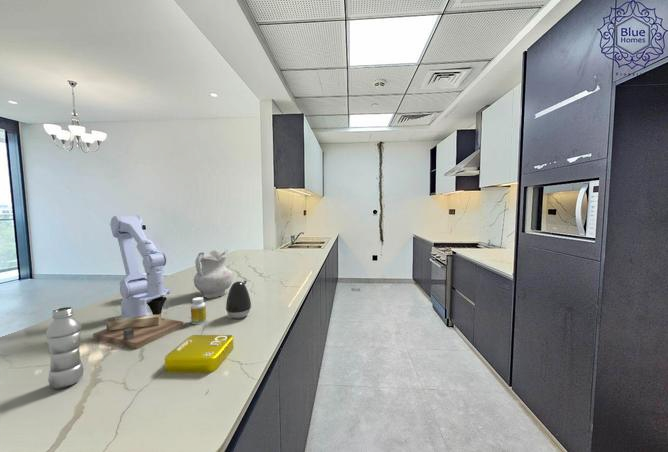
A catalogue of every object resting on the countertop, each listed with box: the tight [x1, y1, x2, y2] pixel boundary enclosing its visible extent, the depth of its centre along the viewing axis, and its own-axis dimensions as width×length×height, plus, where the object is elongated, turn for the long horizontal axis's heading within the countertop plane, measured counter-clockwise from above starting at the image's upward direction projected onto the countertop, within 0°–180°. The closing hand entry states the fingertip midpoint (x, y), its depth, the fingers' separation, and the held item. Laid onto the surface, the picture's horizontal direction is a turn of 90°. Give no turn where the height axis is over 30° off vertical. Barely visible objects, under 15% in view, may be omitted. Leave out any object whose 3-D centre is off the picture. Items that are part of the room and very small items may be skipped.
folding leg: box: [105, 313, 162, 330], centre depth 100 cm, size 17×3×4 cm, turn 106°
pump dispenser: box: [225, 280, 252, 320], centre depth 114 cm, size 10×10×15 cm
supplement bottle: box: [190, 296, 207, 325], centre depth 109 cm, size 5×5×10 cm
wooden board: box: [92, 315, 185, 350], centre depth 100 cm, size 22×18×5 cm
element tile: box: [164, 334, 234, 374], centre depth 82 cm, size 15×15×5 cm
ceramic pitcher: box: [193, 249, 234, 299], centre depth 144 cm, size 22×20×25 cm
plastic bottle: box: [45, 306, 85, 389], centre depth 69 cm, size 6×7×20 cm
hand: (157, 316), depth 108 cm, fingers closed
